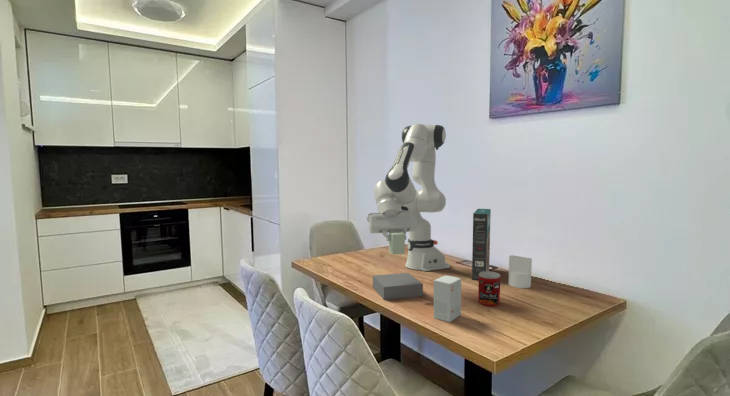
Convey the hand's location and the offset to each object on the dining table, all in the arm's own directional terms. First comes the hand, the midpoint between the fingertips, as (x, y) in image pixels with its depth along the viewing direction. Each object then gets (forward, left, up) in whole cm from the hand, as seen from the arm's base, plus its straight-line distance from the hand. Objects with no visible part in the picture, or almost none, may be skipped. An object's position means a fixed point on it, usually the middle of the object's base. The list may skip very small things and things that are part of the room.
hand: (396, 239), depth 153 cm
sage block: (0, 0, -5) cm, 5 cm away
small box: (-8, +29, -22) cm, 37 cm away
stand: (0, 0, -21) cm, 21 cm away
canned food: (-29, +21, -22) cm, 42 cm away
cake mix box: (-47, -14, -22) cm, 54 cm away
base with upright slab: (-54, +5, -22) cm, 58 cm away
